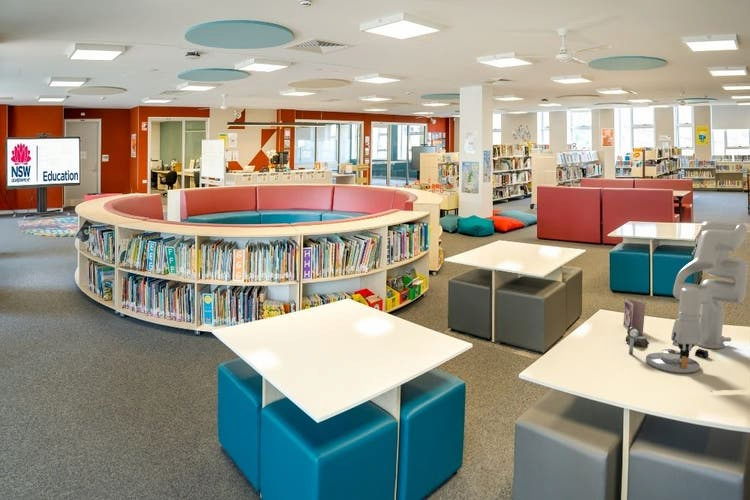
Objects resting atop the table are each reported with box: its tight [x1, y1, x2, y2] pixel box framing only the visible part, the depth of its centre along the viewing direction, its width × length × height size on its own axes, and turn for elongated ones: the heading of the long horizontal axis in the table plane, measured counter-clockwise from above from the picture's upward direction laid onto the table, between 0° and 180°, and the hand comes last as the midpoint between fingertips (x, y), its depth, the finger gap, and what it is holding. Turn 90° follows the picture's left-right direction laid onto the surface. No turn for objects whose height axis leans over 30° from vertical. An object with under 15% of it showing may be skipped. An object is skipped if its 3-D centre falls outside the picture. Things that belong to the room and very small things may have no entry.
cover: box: [661, 348, 681, 364], centre depth 230 cm, size 7×7×5 cm
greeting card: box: [622, 297, 646, 333], centre depth 279 cm, size 11×7×15 cm, turn 174°
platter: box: [645, 352, 701, 375], centre depth 230 cm, size 20×20×6 cm
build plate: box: [694, 348, 710, 359], centre depth 240 cm, size 12×7×5 cm, turn 34°
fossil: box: [625, 331, 650, 348], centre depth 256 cm, size 11×9×10 cm
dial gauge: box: [626, 327, 647, 355], centre depth 242 cm, size 9×6×14 cm, turn 93°
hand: (683, 358), depth 230 cm, fingers closed
